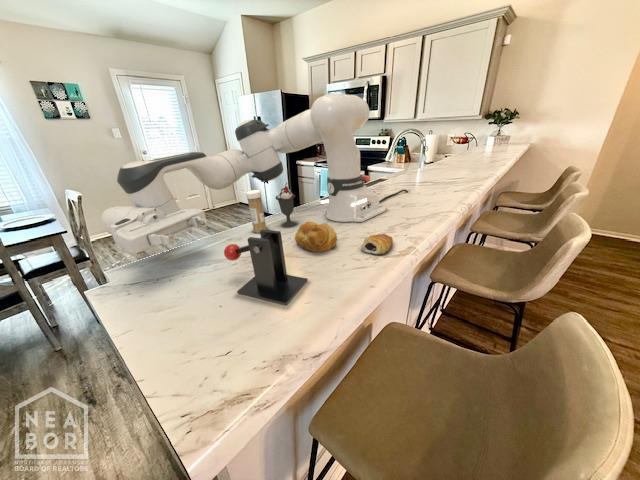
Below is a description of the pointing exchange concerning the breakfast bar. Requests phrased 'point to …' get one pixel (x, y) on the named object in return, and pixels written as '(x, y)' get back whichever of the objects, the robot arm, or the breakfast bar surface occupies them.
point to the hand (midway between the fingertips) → (188, 231)
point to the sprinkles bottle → (256, 210)
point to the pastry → (377, 244)
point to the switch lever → (243, 249)
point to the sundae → (286, 205)
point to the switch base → (270, 271)
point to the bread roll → (316, 237)
